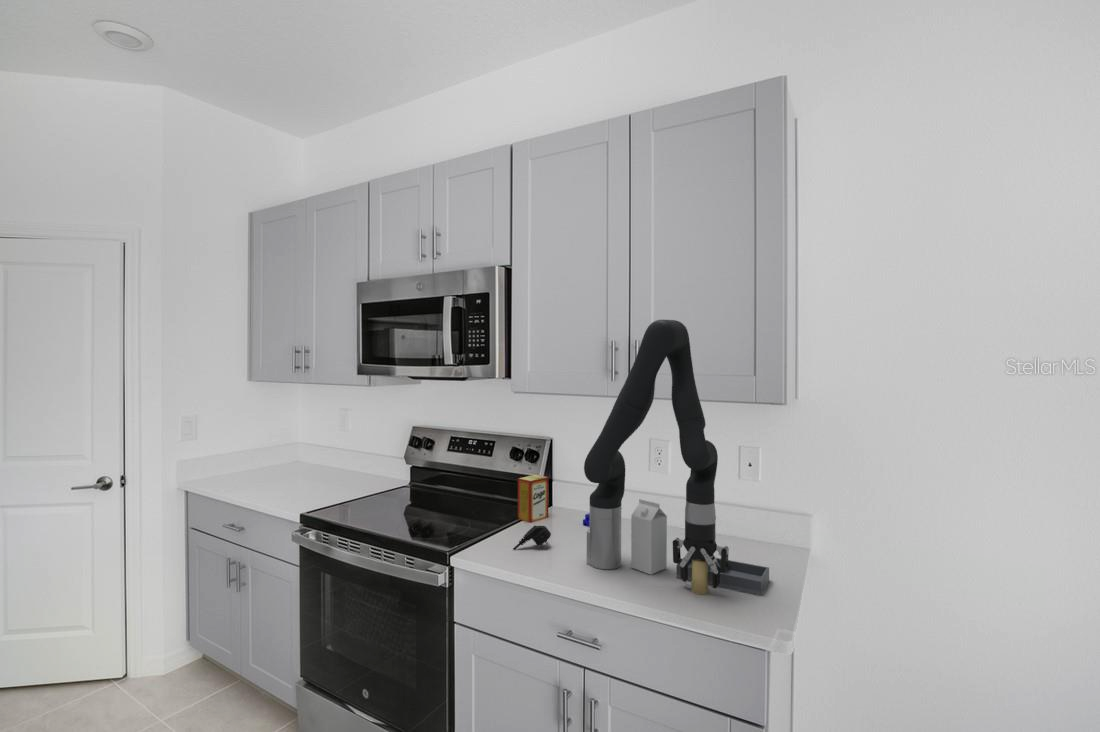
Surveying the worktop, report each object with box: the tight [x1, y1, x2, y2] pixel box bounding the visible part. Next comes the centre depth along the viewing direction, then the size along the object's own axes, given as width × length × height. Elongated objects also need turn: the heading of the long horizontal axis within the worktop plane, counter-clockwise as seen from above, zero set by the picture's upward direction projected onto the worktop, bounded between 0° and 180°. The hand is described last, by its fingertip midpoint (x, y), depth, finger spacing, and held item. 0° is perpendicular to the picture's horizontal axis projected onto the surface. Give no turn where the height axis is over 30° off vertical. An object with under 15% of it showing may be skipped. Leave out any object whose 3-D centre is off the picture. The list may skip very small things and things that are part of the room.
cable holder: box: [582, 512, 590, 528], centre depth 194 cm, size 8×4×4 cm, turn 53°
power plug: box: [512, 525, 552, 551], centre depth 171 cm, size 6×8×12 cm
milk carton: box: [630, 498, 668, 575], centre depth 155 cm, size 7×7×19 cm
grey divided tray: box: [675, 557, 770, 597], centre depth 147 cm, size 22×11×4 cm, turn 59°
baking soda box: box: [517, 474, 549, 524], centre depth 203 cm, size 10×6×16 cm
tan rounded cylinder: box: [691, 558, 709, 595], centre depth 139 cm, size 4×4×8 cm
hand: (700, 583), depth 139 cm, fingers open, 7 cm apart
